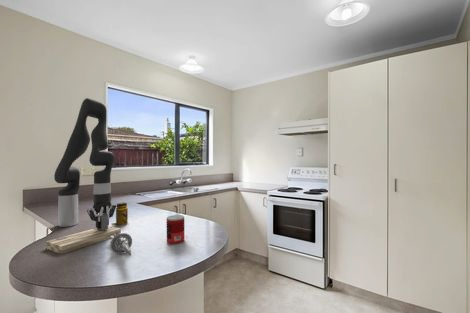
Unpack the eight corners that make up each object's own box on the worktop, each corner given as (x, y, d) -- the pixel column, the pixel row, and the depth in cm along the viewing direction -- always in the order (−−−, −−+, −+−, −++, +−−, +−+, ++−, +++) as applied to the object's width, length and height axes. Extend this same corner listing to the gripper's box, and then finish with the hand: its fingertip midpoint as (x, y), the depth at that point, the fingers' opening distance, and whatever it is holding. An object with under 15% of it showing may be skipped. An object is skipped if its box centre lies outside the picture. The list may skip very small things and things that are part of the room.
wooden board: (46, 248, 97) (46, 241, 97) (105, 231, 120) (105, 225, 120) (61, 254, 91) (61, 245, 91) (120, 234, 114) (120, 228, 114)
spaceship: (112, 250, 75) (136, 236, 79) (102, 233, 103) (120, 223, 108) (123, 271, 76) (146, 256, 80) (110, 248, 104) (127, 238, 109)
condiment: (129, 224, 132) (129, 203, 132) (112, 227, 127) (112, 205, 128) (127, 221, 138) (127, 201, 138) (111, 224, 134) (111, 203, 134)
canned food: (187, 239, 107) (187, 215, 107) (178, 245, 99) (177, 219, 99) (173, 237, 109) (173, 214, 110) (163, 243, 102) (162, 218, 102)
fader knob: (96, 232, 112) (96, 215, 112) (102, 231, 114) (102, 213, 115) (102, 233, 110) (101, 216, 110) (108, 232, 113) (107, 214, 113)
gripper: (110, 190, 120) (111, 223, 120) (82, 193, 108) (82, 230, 108) (120, 190, 117) (120, 225, 117) (92, 194, 104) (92, 233, 104)
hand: (102, 227), depth 112 cm, fingers closed on fader knob, 3 cm apart
